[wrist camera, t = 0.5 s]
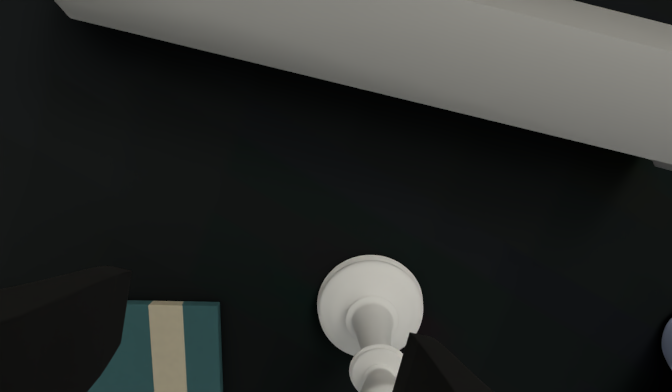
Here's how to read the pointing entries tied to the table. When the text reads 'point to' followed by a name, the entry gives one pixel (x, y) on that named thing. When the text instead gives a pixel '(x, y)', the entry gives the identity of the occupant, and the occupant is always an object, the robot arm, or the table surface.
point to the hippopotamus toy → (667, 343)
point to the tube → (446, 56)
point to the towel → (166, 349)
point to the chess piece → (370, 316)
